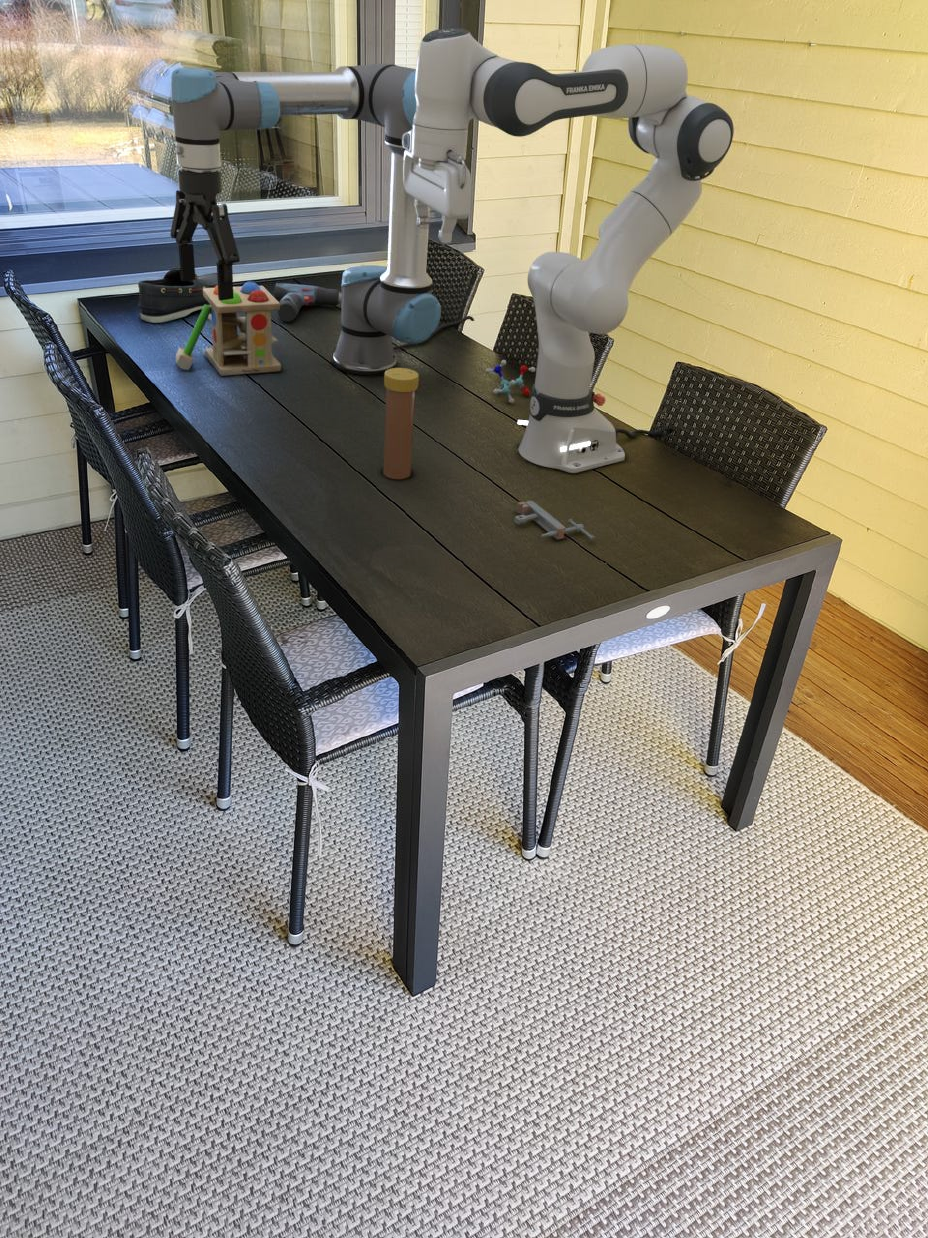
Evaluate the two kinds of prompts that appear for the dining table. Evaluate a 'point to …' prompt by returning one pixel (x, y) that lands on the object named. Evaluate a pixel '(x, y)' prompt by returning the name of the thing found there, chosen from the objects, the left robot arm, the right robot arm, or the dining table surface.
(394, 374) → the lid
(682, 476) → the dining table surface
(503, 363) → the molecular model
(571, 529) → the clamp
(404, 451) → the jar
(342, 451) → the dining table surface
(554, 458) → the right robot arm
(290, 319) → the power drill
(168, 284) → the boat shoe
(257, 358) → the pounding bench toy
